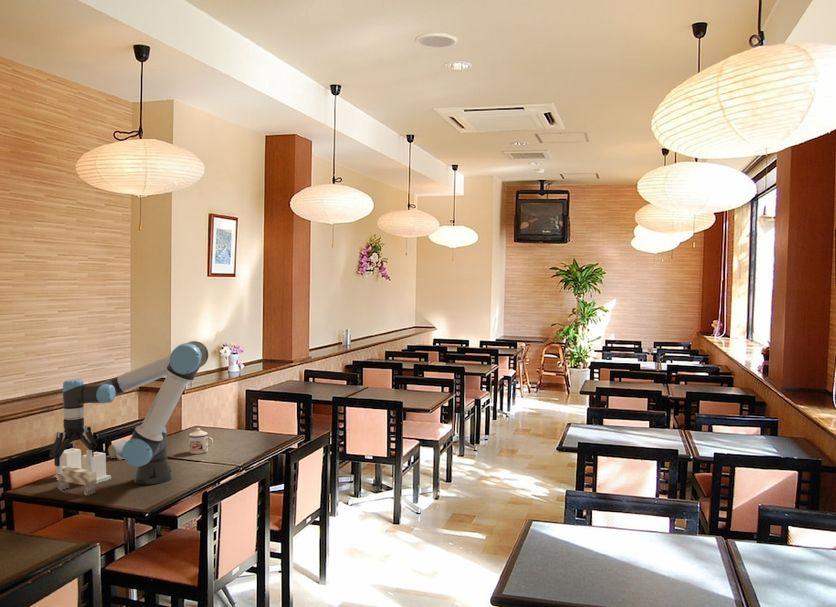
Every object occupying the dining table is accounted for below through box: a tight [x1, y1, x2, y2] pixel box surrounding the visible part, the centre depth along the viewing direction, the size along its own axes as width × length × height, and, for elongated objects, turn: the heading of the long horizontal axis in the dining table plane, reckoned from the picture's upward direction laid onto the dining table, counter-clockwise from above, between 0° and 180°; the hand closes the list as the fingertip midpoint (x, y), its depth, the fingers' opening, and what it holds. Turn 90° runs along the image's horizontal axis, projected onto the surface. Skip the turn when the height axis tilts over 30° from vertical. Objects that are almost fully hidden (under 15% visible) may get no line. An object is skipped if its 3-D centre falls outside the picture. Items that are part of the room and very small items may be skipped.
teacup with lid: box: [188, 427, 214, 455], centre depth 344 cm, size 12×9×12 cm
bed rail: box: [55, 466, 98, 496], centre depth 283 cm, size 20×4×9 cm, turn 62°
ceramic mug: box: [107, 440, 128, 461], centre depth 335 cm, size 11×8×8 cm
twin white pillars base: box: [53, 447, 112, 484], centre depth 301 cm, size 24×10×12 cm, turn 62°
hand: (74, 469), depth 283 cm, fingers open, 13 cm apart
